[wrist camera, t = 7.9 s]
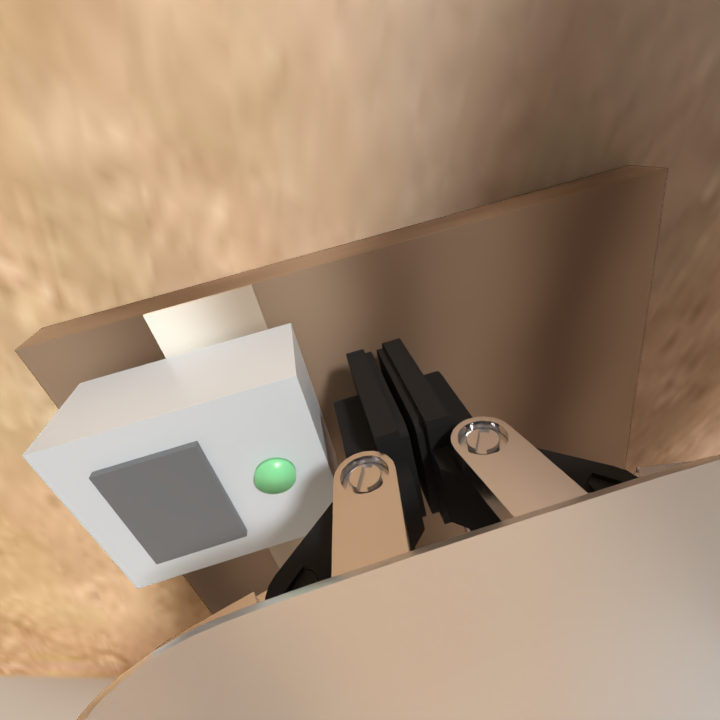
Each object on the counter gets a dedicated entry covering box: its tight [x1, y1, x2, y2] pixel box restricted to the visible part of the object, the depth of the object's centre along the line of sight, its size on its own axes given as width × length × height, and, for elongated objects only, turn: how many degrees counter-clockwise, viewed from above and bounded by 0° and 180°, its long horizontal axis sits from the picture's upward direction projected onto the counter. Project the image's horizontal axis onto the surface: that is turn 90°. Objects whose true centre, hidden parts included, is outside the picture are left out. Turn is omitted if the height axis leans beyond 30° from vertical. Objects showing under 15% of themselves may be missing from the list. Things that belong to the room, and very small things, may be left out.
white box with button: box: [22, 323, 338, 589], centre depth 11 cm, size 6×5×3 cm
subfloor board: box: [15, 165, 668, 614], centre depth 16 cm, size 19×16×2 cm
